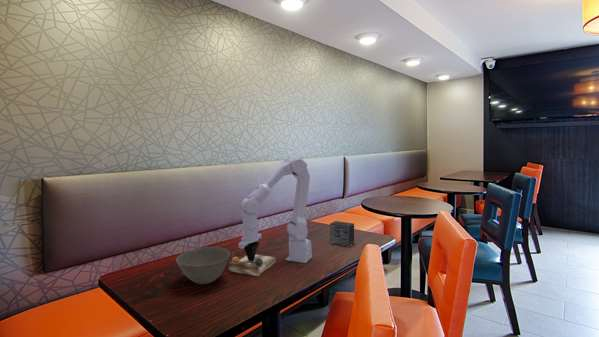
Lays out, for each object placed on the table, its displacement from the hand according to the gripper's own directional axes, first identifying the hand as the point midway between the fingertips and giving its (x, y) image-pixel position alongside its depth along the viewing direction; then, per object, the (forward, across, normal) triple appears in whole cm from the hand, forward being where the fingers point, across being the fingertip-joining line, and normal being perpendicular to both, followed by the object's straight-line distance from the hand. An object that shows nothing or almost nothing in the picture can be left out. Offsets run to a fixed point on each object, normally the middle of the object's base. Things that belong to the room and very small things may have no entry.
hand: (251, 260), depth 129 cm
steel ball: (+1, +3, 0) cm, 3 cm away
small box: (+3, -41, +27) cm, 49 cm away
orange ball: (-1, +4, -5) cm, 6 cm away
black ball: (-1, +2, +5) cm, 6 cm away
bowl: (+3, +18, -9) cm, 20 cm away
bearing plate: (+3, -1, 0) cm, 3 cm away
